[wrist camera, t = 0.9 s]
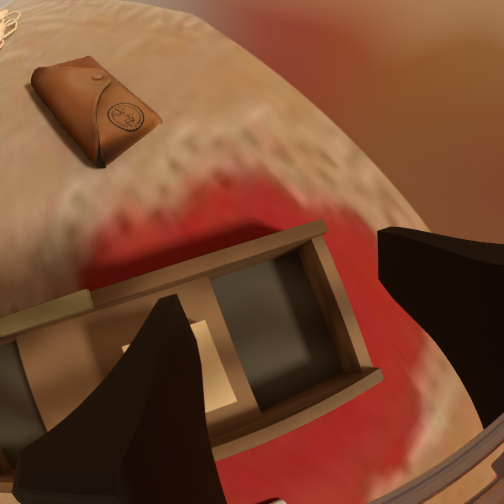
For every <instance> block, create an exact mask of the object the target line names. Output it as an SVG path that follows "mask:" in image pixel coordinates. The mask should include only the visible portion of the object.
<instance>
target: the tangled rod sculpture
mask: <svg viewBox="0 0 504 504" xmlns="http://www.w3.org/2000/svg"><path fill="white" fill-rule="evenodd" d="M13 13H17V14H18V17H17V18H16V19H15V18H12V19H10V20H8V21H7V22H5V23H4V21H5V18H6V17H7V16H9V15H11V14H13ZM20 15H21V13H20V12H19V11H13V12H10V13H9V14H8V10H3V11H0V44H1V42H2V44H1V45H0V48H1V47H2V46H3V44H4V40H3V38H5V37H7V36H8V35H10V34H11V33H12V32H13V31H14V30H16V28H17V26H18V23H17V20H18V19H19V17H20ZM10 21H13V22H11V23H9V24H7V23H8V22H10ZM13 23H15V28H14V29H13V30H12V31H10V32H9V33H7V34H6V35H5V34H4V33H5V31H6V27H8V26H10V25H12V24H13ZM6 24H7V25H6Z"/></svg>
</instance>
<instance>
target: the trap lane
mask: <svg viewBox="0 0 504 504" xmlns="http://www.w3.org/2000/svg"><path fill="white" fill-rule="evenodd" d="M327 231H328V230H327V228H326V226H325V224H324V221H323V219H320V220H317V221H313V222H310V223H307V224H303V225H300V226H297V227H293V228H290V229H287V230H284V231H280V232H277V233H274V234H271V235H267V236H264V237H261V238H258V239H254V240H251V241H248V242H245V243H241V244H238V245H235V246H232V247H229V248H225V249H222V250H219V251H216V252H213V253H209V254H206V255H203V256H200V257H197V258H193V259H190V260H187V261H184V262H181V263H178V264H174V265H171V266H168V267H165V268H162V269H159V270H156V271H152V272H149V273H146V274H143V275H140V276H137V277H134V278H131V279H128V280H124V281H121V282H118V283H115V284H112V285H109V286H106V287H103V288H100V289H97V290H94V291H91V292H90V291H89V290H88V289H84V290H81V291H78V292H75V293H72V294H69V295H66V296H63V297H60V298H57V299H54V300H51V301H48V302H45V303H42V304H39V305H36V306H33V307H30V308H27V309H24V310H22V311H19V312H16V313H13V314H10V315H7V316H4V317H1V318H0V493H12V488H13V482H14V477H15V472H16V467H17V462H18V457H19V453H20V450H21V449H23V448H25V447H26V446H28V445H29V444H31V443H32V442H34V441H35V440H37V439H38V438H40V437H41V436H42V435H44V434H45V433H47V432H48V431H49V430H51V429H52V428H53V427H55V426H56V425H57V424H58V423H60V422H61V421H62V420H63V419H64V418H66V417H67V416H68V415H69V414H70V413H71V412H72V411H74V410H75V409H76V408H77V407H78V406H79V405H80V404H81V403H82V402H83V401H84V400H85V399H86V398H87V397H88V396H89V395H90V394H91V393H92V392H93V391H94V390H95V389H96V388H97V387H98V385H99V384H100V383H101V382H102V381H103V380H104V379H105V377H106V376H107V375H108V374H109V373H110V371H111V370H112V369H113V368H114V366H115V365H116V364H117V362H118V361H119V360H120V358H121V357H122V355H123V354H124V351H123V349H122V346H126V345H129V344H131V342H132V341H133V339H134V338H135V336H136V335H137V333H138V332H139V330H140V328H141V327H142V325H143V324H144V322H145V320H146V319H147V317H148V315H149V314H150V312H151V310H152V309H153V307H154V305H155V304H156V302H157V301H158V299H159V298H162V297H166V296H169V295H173V294H176V293H177V295H178V298H179V300H180V303H181V305H182V307H183V310H184V312H185V314H186V317H187V319H188V321H189V324H190V325H191V324H194V323H197V322H200V321H203V320H205V321H206V323H207V326H208V329H209V332H210V334H211V337H212V340H213V342H214V345H215V347H216V350H217V353H218V355H219V358H220V360H221V363H222V365H223V368H224V370H225V373H226V375H227V378H228V380H229V383H230V385H231V388H232V390H233V392H234V395H235V397H236V400H237V402H234V403H231V404H229V405H226V406H223V407H221V408H218V409H215V410H212V411H209V412H206V423H207V430H208V435H209V440H210V444H211V448H212V453H213V457H214V461H217V460H220V459H223V458H226V457H229V456H232V455H234V454H237V453H240V452H243V451H245V450H248V449H250V448H253V447H255V446H258V445H260V444H263V443H265V442H267V441H270V440H272V439H274V438H277V437H279V436H281V435H283V434H286V433H288V432H290V431H292V430H294V429H296V428H298V427H301V426H303V425H305V424H307V423H309V422H311V421H313V420H315V419H317V418H319V417H320V416H322V415H324V414H326V413H328V412H330V411H332V410H334V409H335V408H337V407H339V406H341V405H343V404H344V403H346V402H348V401H350V400H351V399H353V398H355V397H356V396H358V395H360V394H361V393H363V392H365V391H366V390H368V389H370V388H371V387H373V386H374V385H376V384H378V383H379V382H381V381H382V380H384V378H383V375H382V372H381V369H380V368H373V366H372V363H371V360H370V357H369V354H368V351H367V349H366V346H365V343H364V340H363V337H362V335H361V332H360V329H359V326H358V324H357V321H356V318H355V315H354V313H353V310H352V307H351V305H350V302H349V300H348V297H347V294H346V292H345V289H344V287H343V284H342V282H341V279H340V277H339V274H338V272H337V269H336V267H335V264H334V262H333V260H332V257H331V255H330V252H329V250H328V248H327V245H326V243H325V241H324V238H323V236H322V235H323V234H325V233H326V232H327Z"/></svg>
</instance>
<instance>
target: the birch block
mask: <svg viewBox="0 0 504 504" xmlns="http://www.w3.org/2000/svg"><path fill="white" fill-rule="evenodd" d="M190 326H191V328H192V331H193V333H194V335H195V337H196V339H197V344H198V349H199V354H200V359H201V364H202V375H203V388H204V401H205V413H206V412H209V411H212V410H215V409H218V408H221V407H223V406H226V405H229V404H231V403H234V402H237V400H236V397H235V395H234V392H233V390H232V388H231V385H230V383H229V380H228V378H227V375H226V373H225V370H224V368H223V365H222V363H221V360H220V358H219V355H218V353H217V350H216V347H215V345H214V342H213V340H212V337H211V334H210V332H209V329H208V326H207V323H206V321H205V320H203V321H200V322H197V323H194V324H191V325H190ZM129 345H130V344H129ZM129 345H126V346H122V349H123V351H124V353H125V351H126V350H127V348H128V347H129Z"/></svg>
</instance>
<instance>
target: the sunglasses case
mask: <svg viewBox="0 0 504 504" xmlns="http://www.w3.org/2000/svg"><path fill="white" fill-rule="evenodd" d="M31 84H32V87H33V88H34V89H35V91H36V93H37V94H38V95H39V96H40V98H41V99H42V100H43V101H44V103H45V104H46V105H47V106H48V108H49V109H50V110H51V111H52V113H53V114H54V115H55V117H56V118H57V119H58V120H59V121H60V123H61V124H62V125H63V126H64V128H65V129H66V130H67V131H68V133H69V134H70V135H71V136H72V137H73V139H74V140H75V142H77V144H78V145H79V146H80V147H81V148H82V150H83V151H84V152H85V154H86V155H87V156H88V157H89V158H90V159H91V160H92V161H93V162H94V163H95V164H96V165H97V166H98V167H100V168H106V166H107V165H108V164H110V163H111V162H112V161H114V160H115V159H116V158H117V157H118V156H120V155H121V154H122V153H123V152H125V151H126V150H127V149H128V148H129V147H131V146H132V145H134V144H135V143H136V142H137V141H139V140H140V139H141V138H143V137H144V136H145V135H147V134H148V133H149V132H150V131H151V130H153V129H154V128H155V127H156V126H157V125H158V124H161V123H163V121H162V119H161V118H160V117H159V116H158V115H157V114H156V113H155V112H154V111H153V110H152V109H151V108H150V107H148V106H147V105H146V104H145V103H144V102H142V101H141V100H140V99H139V98H138V97H137V96H135V95H134V94H133V93H132V92H130V91H129V90H128V89H127V88H126V87H125V86H123V85H122V84H121V83H120V82H119V81H117V80H116V79H115V78H114V77H113V76H112V75H111V74H109V73H108V72H107V71H106V70H105V69H104V68H103V67H101V66H100V65H99V64H98V63H97V62H96V61H95V60H94V59H93V58H92V57H91V56H87V57H85V58H81V59H77V60H72V61H68V62H65V63H61V64H57V65H53V66H49V67H38V68H37V69H35V70H34V72H33V74H32V77H31Z"/></svg>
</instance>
